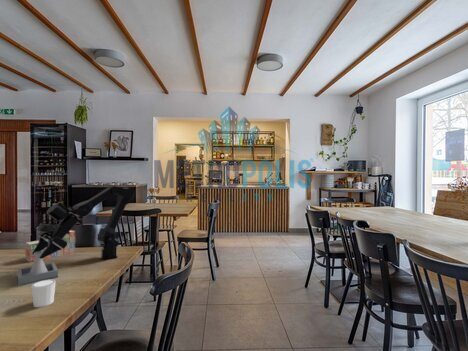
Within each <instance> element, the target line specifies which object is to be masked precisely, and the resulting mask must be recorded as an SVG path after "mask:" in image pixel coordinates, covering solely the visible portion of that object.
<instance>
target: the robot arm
mask: <svg viewBox="0 0 468 351" xmlns="http://www.w3.org/2000/svg"><path fill="white" fill-rule="evenodd" d="M113 195H117V202H116V204H115V207H114V209H113V211H112V213H111V215H110V217H109V220H108V222H107V224H106V226H105V227H104V228H102V227H101V228H100V229H99V232H98V234H96V236H97V238H96V239H97V242H98V243H100V245H101V246H102V248H101V252H100V254H101V255H100V256H101V259H103V260H104V261H107V260H113V259H117V258H118V256H117V247H118V246H119V244H120V243H119V241H118V240H117V239H115V238H116V228H117V226H118V224H119V221H120V220H121V217H122V214H123V213H124V211H125V209H126V206H127V204H128V203H130V202H131V201H132V200H133V199H132V198H134V196H135V191H134V189H133V188H131V187H118V186H116V185H110V186H108V187H107V188H105V189H103V190H102V191H100V192H99V193H97V194H96V195H94V196H93V197H91V198H89V199H88V200H87V199H86V200H84V201H81V202H79V203H77V204H74V205H73V206H72V207H66V206H65V205H64V204H63V203H62V202H60V201H58V202H57V203H55V204H53V205H52V206H50V207H49V208H48V209H47V210H46V214H47V215H48V216H50V217H51V218H52V219H54V220H56V221H60V222H59V223H58V224H57V223H56V224H53V223H47V224H46V223H39V224H38V227H37V229H36V231H39V234H38V236H37V238H38V240H39V242H38V244H37V246H36V248H35V249H34V251H33V253H32V254H34V252H38V251H41V250H43V249H44V248H46V247H47V248H46V249H45V250H44V252H43V253H42V254H41V256H40V257H39V258H41V259H42V258H44V257H46V256H48V255H50V254H52V253H54V252H56V251H58V250H61V248H63V249H64V248H65V247H66V246H67V242H66V241H65V240H63V238H64V236H65V235H66V234H69V233H70V232H69V231H70V230H72V229H73V228H74V227H75V226H76V225H77V224H79V225H83V218H85V217H86V216H88V215H89V214H90V213H91V212H92V211H93V210H94V208H95V207H96V206H98V205H99V204H101V203H102V202H104V201H105V200H107V199H108V198H110V197H111V196H113ZM71 214H72V215H71ZM79 217H82V218H79Z"/></svg>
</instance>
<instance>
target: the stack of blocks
mask: <svg viewBox="0 0 468 351" xmlns="http://www.w3.org/2000/svg"><path fill="white" fill-rule="evenodd" d="M69 232H70V233H69V234H66V235H65V236H64V238H63V240H65V241H66V242H67V246H66V247H65V248H64V249H63V248H61V250H58V251H56V252H54V253H52V254H50V255H48V256H46V257H44V258H43V260H47V259H51V258H56V257H59V256H64V255H69V254H72V253H76V230H72V229H71V230H70V231H69ZM38 242H39V239H38V240H34V241H28V242H25V261H27V262H29V263H34V258H35V255H34V254H32V253H33V251H34V249H35V248H36V246H37V244H38ZM46 248H47V247H46ZM46 248H44V249H43V250H41V251H43V252H44V250H45V249H46Z"/></svg>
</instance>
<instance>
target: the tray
mask: <svg viewBox="0 0 468 351" xmlns="http://www.w3.org/2000/svg"><path fill="white" fill-rule="evenodd" d="M44 264H45V266H46V268H47V270H48V272H43V273H38V274H33V275H29V273H30V271H31V268H32V266H27V267H20V268H17V283H18V284H17V285H18V287H21V286H24V285H29V284H34V283H36V282H39V281H42V280H49V279H52V280H53V279H57V278H59V269H58V268H57V265H56V264H55V261H54V262H48V263H44Z"/></svg>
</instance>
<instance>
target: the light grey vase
mask: <svg viewBox="0 0 468 351" xmlns="http://www.w3.org/2000/svg"><path fill="white" fill-rule="evenodd" d="M42 253H43V251H38V252H34V255H35V258H34V262H32V268H31V271H30V273H29V275H33V274H38V273H43V272H48V270H47V268H46V266H45V264H46V263H45V262H44V259H43V258H42V259H41V258H39V257H40V256H41V254H42Z"/></svg>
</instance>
